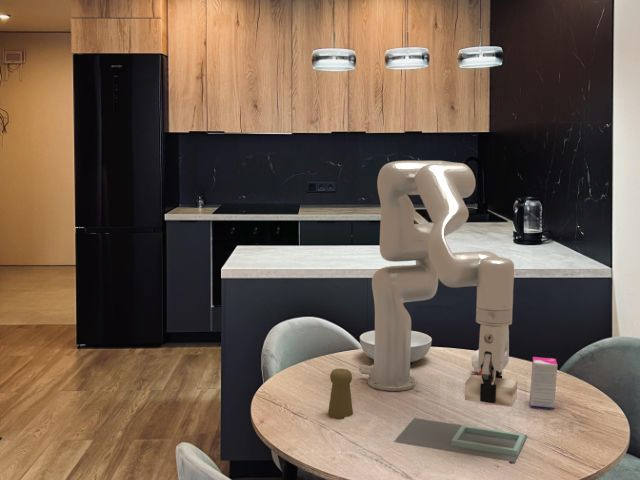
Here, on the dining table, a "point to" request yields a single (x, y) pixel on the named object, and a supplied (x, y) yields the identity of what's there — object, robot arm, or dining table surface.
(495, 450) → the teal frame
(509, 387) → the beige block
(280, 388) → the dining table surface
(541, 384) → the supplement box
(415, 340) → the serving bowl
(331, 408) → the cork
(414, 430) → the charcoal mat
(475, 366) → the geometric ball
